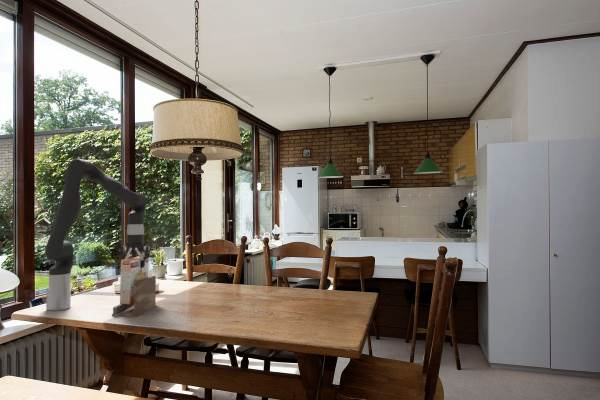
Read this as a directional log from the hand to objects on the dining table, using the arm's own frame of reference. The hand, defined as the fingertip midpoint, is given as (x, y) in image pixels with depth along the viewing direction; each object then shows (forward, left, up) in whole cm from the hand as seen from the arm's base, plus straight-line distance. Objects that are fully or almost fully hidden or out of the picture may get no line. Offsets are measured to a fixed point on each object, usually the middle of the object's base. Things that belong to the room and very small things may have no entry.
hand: (135, 267), depth 181 cm
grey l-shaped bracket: (0, 0, -21) cm, 21 cm away
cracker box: (0, 0, -16) cm, 16 cm away
